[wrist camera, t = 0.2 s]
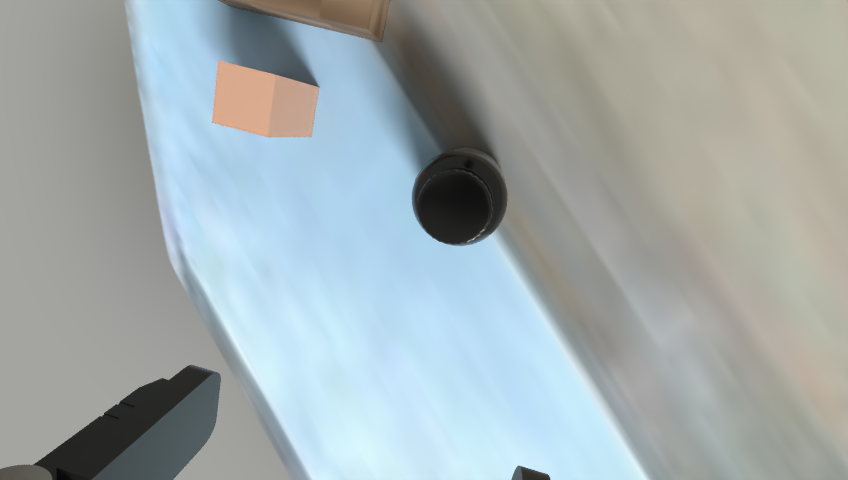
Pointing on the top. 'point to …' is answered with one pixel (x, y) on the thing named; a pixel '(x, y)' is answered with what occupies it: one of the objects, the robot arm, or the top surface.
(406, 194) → the top surface
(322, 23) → the walnut base
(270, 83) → the terracotta peg
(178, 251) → the top surface
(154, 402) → the robot arm
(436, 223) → the supplement bottle
